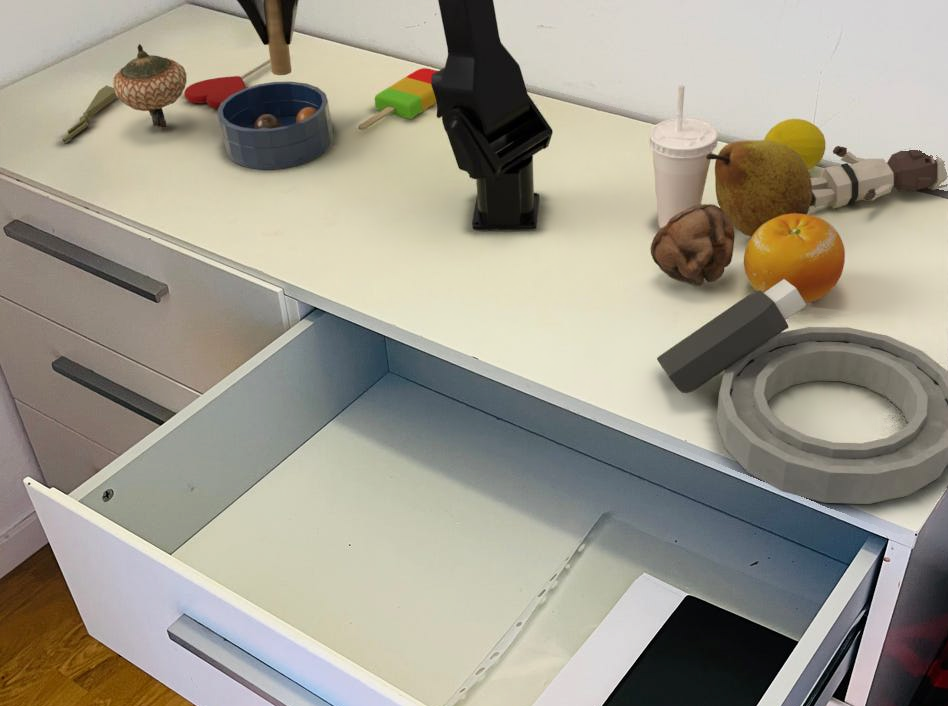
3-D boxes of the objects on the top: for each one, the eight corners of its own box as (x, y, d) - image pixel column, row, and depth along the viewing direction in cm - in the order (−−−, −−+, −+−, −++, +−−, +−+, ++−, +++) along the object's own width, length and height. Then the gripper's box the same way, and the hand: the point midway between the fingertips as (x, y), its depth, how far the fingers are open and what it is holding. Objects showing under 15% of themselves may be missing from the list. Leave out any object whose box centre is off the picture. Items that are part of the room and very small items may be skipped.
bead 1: (261, 137, 134) (264, 151, 132) (248, 116, 131) (250, 130, 130) (284, 125, 133) (287, 139, 131) (271, 104, 131) (274, 118, 129)
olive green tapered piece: (107, 91, 144) (106, 84, 144) (129, 99, 144) (128, 92, 143) (45, 136, 137) (43, 130, 136) (68, 145, 136) (67, 138, 135)
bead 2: (292, 135, 132) (312, 132, 130) (289, 107, 131) (310, 104, 130) (309, 136, 134) (329, 134, 133) (307, 109, 134) (327, 106, 132)
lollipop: (256, 52, 151) (177, 99, 142) (255, 45, 151) (175, 92, 142) (305, 63, 148) (227, 112, 139) (304, 56, 147) (226, 105, 138)
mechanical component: (701, 484, 89) (704, 454, 87) (734, 344, 101) (737, 315, 99) (953, 521, 84) (962, 491, 82) (956, 369, 97) (963, 340, 95)
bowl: (322, 169, 128) (316, 130, 125) (214, 170, 129) (205, 132, 126) (341, 117, 137) (335, 80, 134) (239, 119, 138) (232, 82, 135)
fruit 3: (713, 245, 106) (772, 189, 100) (777, 247, 111) (837, 193, 104) (750, 325, 103) (812, 272, 97) (814, 323, 108) (877, 273, 102)
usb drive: (668, 376, 93) (686, 402, 94) (798, 288, 91) (815, 316, 92) (655, 358, 98) (673, 383, 99) (778, 273, 96) (795, 300, 97)
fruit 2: (805, 165, 115) (746, 78, 108) (839, 212, 109) (778, 123, 102) (732, 219, 119) (669, 139, 111) (760, 268, 112) (696, 186, 105)
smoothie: (667, 201, 119) (675, 67, 109) (722, 219, 116) (736, 83, 106) (632, 229, 116) (637, 92, 106) (687, 248, 113) (698, 110, 103)
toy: (785, 152, 116) (929, 118, 117) (781, 190, 120) (920, 157, 121) (817, 203, 112) (966, 167, 112) (811, 241, 116) (956, 206, 116)
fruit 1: (753, 185, 120) (814, 184, 124) (786, 157, 115) (849, 157, 119) (740, 137, 121) (801, 137, 125) (771, 107, 116) (834, 108, 120)
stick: (281, 77, 129) (271, -8, 123) (267, 72, 130) (257, -13, 124) (295, 71, 130) (286, -14, 124) (281, 66, 131) (272, -18, 125)
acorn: (211, 122, 138) (192, 38, 131) (159, 151, 133) (136, 66, 126) (164, 106, 142) (143, 23, 135) (112, 134, 137) (87, 50, 130)
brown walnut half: (676, 256, 101) (651, 216, 104) (669, 311, 108) (645, 273, 110) (756, 228, 102) (729, 190, 104) (743, 285, 109) (719, 247, 111)
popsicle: (459, 89, 140) (458, 74, 139) (379, 141, 132) (377, 125, 131) (423, 80, 143) (421, 65, 142) (342, 129, 135) (340, 114, 133)
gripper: (136, -82, 112) (174, 77, 123) (328, -88, 110) (350, 74, 121) (168, -119, 120) (201, 33, 130) (347, -125, 118) (366, 30, 129)
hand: (277, 43), depth 127 cm, fingers closed on stick, 2 cm apart
